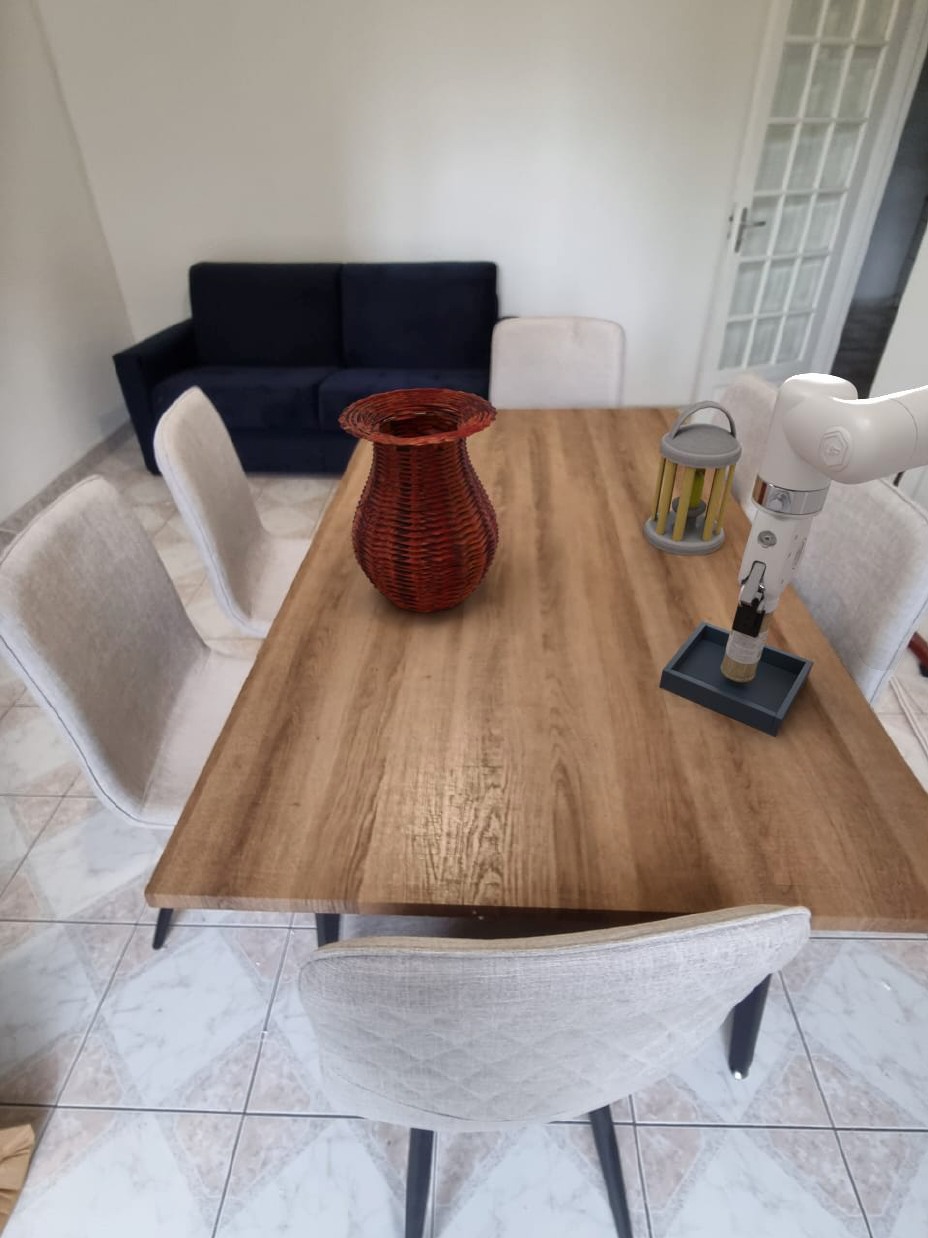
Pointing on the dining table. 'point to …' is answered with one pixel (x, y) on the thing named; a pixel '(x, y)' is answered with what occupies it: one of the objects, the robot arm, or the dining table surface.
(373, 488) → the vase
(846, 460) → the robot arm
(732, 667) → the sprinkles bottle
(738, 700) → the tray
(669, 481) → the lantern
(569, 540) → the dining table surface
